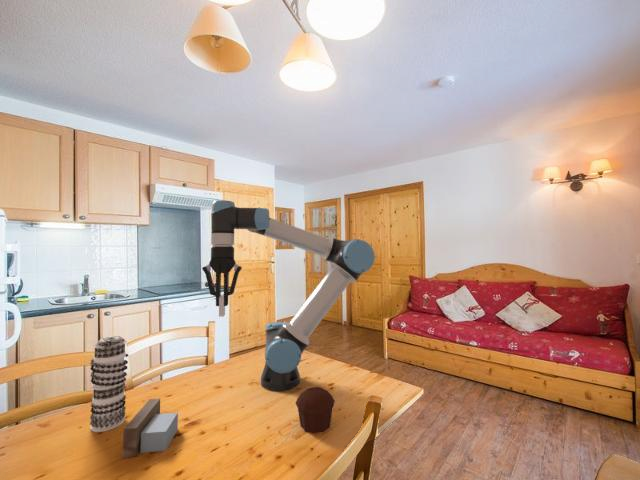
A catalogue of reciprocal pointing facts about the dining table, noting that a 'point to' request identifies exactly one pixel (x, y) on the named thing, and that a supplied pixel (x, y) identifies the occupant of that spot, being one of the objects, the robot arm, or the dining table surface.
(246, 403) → the dining table surface
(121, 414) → the decorative candle
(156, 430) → the slate block
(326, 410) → the muffin
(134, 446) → the board
